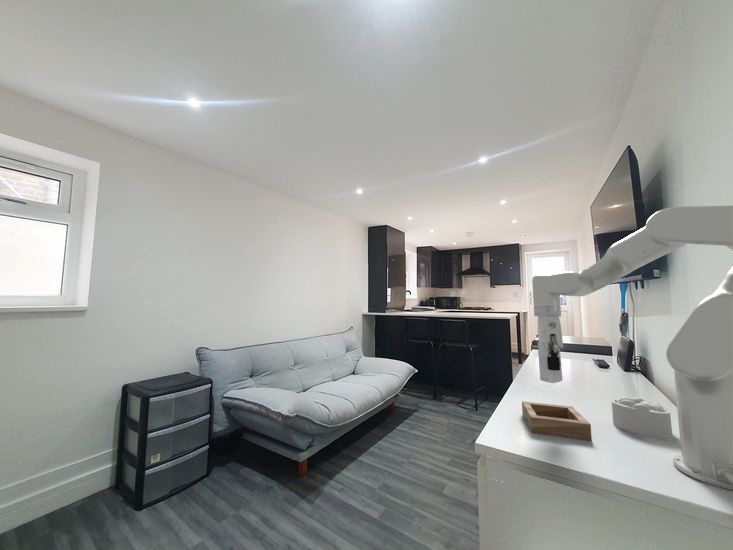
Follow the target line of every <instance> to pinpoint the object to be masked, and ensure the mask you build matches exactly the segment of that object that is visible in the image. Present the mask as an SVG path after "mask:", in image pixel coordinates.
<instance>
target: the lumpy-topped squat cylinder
mask: <svg viewBox="0 0 733 550" xmlns="http://www.w3.org/2000/svg"><path fill="white" fill-rule="evenodd" d="M611 410H612V424H613V426H615V427H616V428H618V429H621V430H623V431H626V432H629V433H633V434H636V435H640V436H645V437H649V438H656V439H660V440H661V439H662V440H666V441H667V440H673V426H672V419H671V412H670V411H668V408H667V407H666V406H663V405H661V404H660V403H658V402H656V401H648V400H644V399H643V398H641V397H633V398H631V397H623V396H622V397H621V398H619V399H613V400H611Z"/></svg>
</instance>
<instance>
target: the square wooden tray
mask: <svg viewBox="0 0 733 550" xmlns="http://www.w3.org/2000/svg"><path fill="white" fill-rule="evenodd" d="M521 408H522V410H521V411H522V417H523V416H524V417H523V418H524V420H525V422H526V424H527V425H528V428H529V431H530V432H531V434H536V433H537V435H538V434H539V435H545V436H551V435H552V436H553V437H561V438H568V439H574V438H575V439H577V440H582V441H583V440H584V441H592V440H593V438H592V437H593V436H592V424H591V423H590V422H589V421H588V419H586V418H585V417H584V416H583V415H582V414H580V412H579V411H577V410H576V409H575V408H574V407H573V406H572V405H571V406H570V405H560V404H551V403H542V402H541V403H540V402H531V401H521Z"/></svg>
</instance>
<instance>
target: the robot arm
mask: <svg viewBox="0 0 733 550" xmlns="http://www.w3.org/2000/svg"><path fill="white" fill-rule="evenodd" d="M687 244H688V245H691V244H692V245H707V246H725V247H727V248H728V249H730V250H732V251H733V205H704V206H703V205H700V206H699V205H697V206H672V207H666V208H663V209H661V210H658V211H655V213H653V214H652V215H651V216H649V218H648V219H647V220H646V222H645V226H644V227H642V228H640V229H639V230H637V231H635V232H633V233H631V234H629V235H628V236H626V237H624V238H623V239H621V240H619V241H617V242H615V243H613V244H612V245H611V246H610V247H609V248H608V249H606V252H605V254H604V255H603V256H602V257H601V258H600V259H599V260H597V262H595V263H594V264H592V265H590V266H588V267H586V268H585V269H583V270H581V271H579V272H577V271H562V272H558V273H554V274H551V273H545V274H544V273H543V274H535V275H534V276H533V277H532V281H531V282H532V299H533V300H532V301H533V315H534V317H537V338H538V342H542V343H543V346H544V347H546V348H547V352H548V356H547V364H548V369H549V370H558V371H559V370H560V359H559V350H558V348H560V350H561V349H562V348H564V344H563V343H564V342H563V341H564V340H563V332H562V325H561V320H560V317H562V310H561V309H562V307H561V296H567V297H586V296H588V295H590V294H592V293H595V292H596V291H599V290H601V289H603V288H605V287H607V286H610V285H612V284H613V283H614V282H616V281H618V280H619V279H621V278H623V277H625V276H627V275H629V274H631V273H632V272H633V271H636V270H637V269H639V268H641V267H643V266H645V265H647V264H650V263H651V262H653V261H655V260H657V259H660V258H661V257H664V256H666V255H668V254H670V253H672V252H674V251H677V250H678V249H679V248H682V247H685V246H686V245H687ZM550 344H551V345H552V346H553V347H551V346H549V345H550ZM550 349H551V352H550ZM665 355H666V361H667V362H668V364H669V366H670V367H671V368H672V370H673V371H674V388H675V389H674V390H675V397H676V400H675V401H676V408H677V409H676V410H677V420H678V421H677V422H678V430H679V441H680V448H681V449H680V450H681V454H680V455H675V456H674V457H673V458H672V463H673V465H674V466H675V467H676V468H677V469H678V470H679V471H681V472H682V473H684V474H686V475H688V476H689V477H692V478H693V479H696V480H698V481H701V482H703V483H706V484H708V485H709V484H710V485H712V486H716V487H719V488H723V489H725V490H726V489H727V490H731V491H733V266H732V267H731V268H730V270H728V271H727V273H726V275H725V277H724V278H723V280H722V281H721V282H720V283H719V285H718V287H717V288H716V289H714V292H713V293H712V294H711V295H709V296H708V295H707V297H704V298H703V299H702V300H701V301H700V302H699V303H698V304H697V305H696V306H695V308H694V309H693V310H692V312H691V313H690V315H689V316H688V317H687V319H686V321H685V322H684V323H683V325H682V326H681V328H680V329H679V330H678V332H677V333H676V335H675V336H674V337H673V339H672V340H671V341H670V342H669V344H668V346H667V347H666V352H665Z"/></svg>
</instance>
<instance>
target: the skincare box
mask: <svg viewBox="0 0 733 550" xmlns="http://www.w3.org/2000/svg"><path fill="white" fill-rule="evenodd" d="M549 346H551V347H553V346H552V345H551V344H550V345H549ZM558 350H559V359H560V370H559V371H558V370H549V369H548V364H547V356H548V352H547V348H546V347H544V346H543V343H542V342H539V341H538V342H537V351H538V352H537V353H538V354H537V355H538V365H539V366H538V367H539V381H542V382H544V383H550V384H557V383H560V382H563V369H562V357H561V349H560V348H558ZM550 352H551V349H550Z"/></svg>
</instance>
